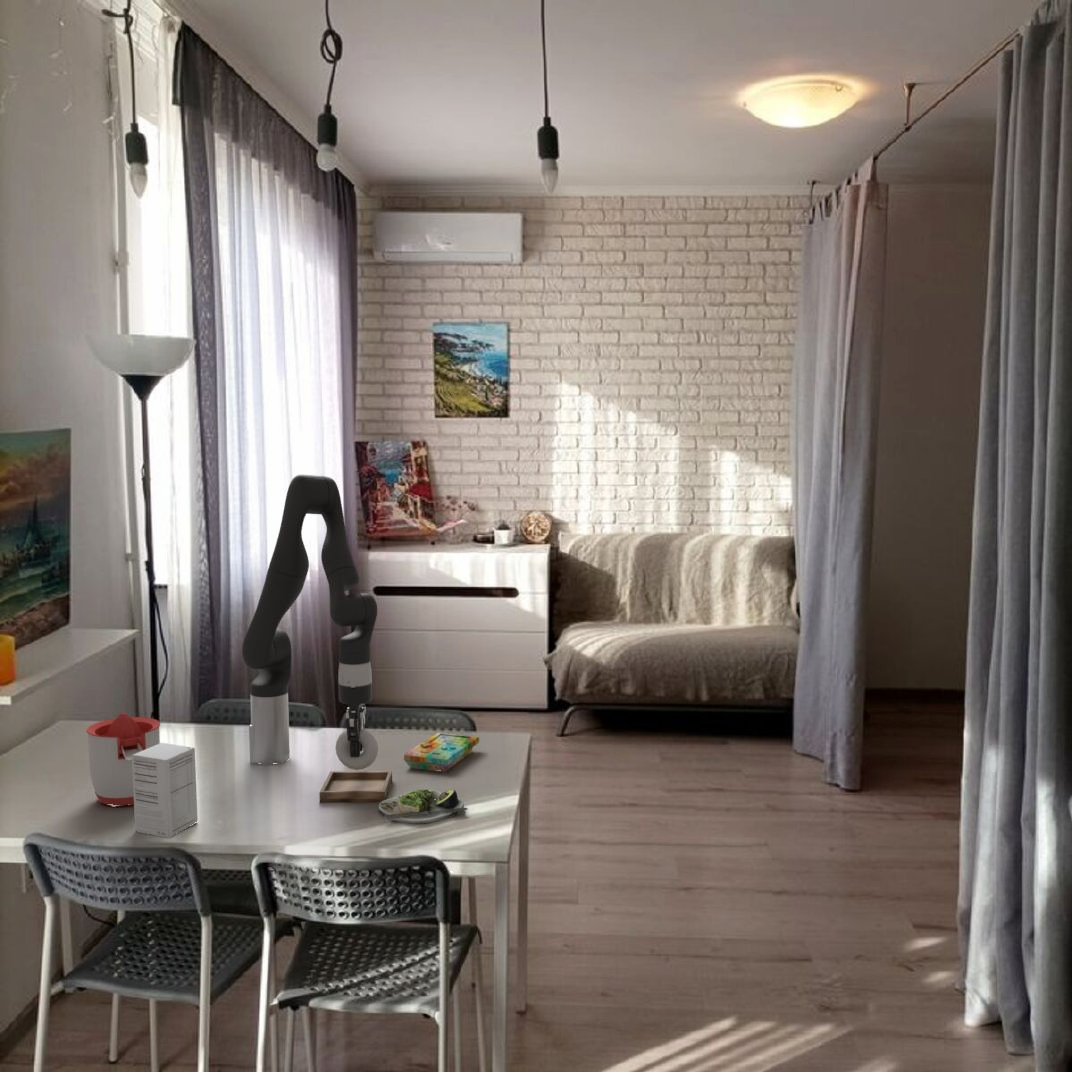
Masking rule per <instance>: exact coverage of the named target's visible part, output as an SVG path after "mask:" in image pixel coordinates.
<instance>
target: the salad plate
mask: <svg viewBox="0 0 1072 1072" xmlns="http://www.w3.org/2000/svg"><path fill="white" fill-rule="evenodd" d="M458 796H459V795H458V793H457V791H456V790H455V789H454V788H450V789H447V790H446V791H443V792H441V791H438V790H434V789H415V790H411V791H409V792H407V793H404V794H401V795H398V796H395V797H394V796H393V797H390V798H386V800H384V801H382V802H381V803H378V810H379V811H380V812H381V813H382V815H383V820H388V821H395V822H399V823H404V824H405V823H408V824H409V823H410V824H428V823H434V822H437V821H441V820H444V819H449V818H451V817H453V815H454V816H457V815H459V814H461V813H462V812H465V811H467V810H469V808H468V807H464V806H465V803H464V802H463V801H462V800H460V799H459V798H458ZM434 799H436V800H434ZM397 807H398V811H399V812H396V811H395V812H394V810H395V808H397Z"/></svg>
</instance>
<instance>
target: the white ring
mask: <svg viewBox="0 0 1072 1072" xmlns="http://www.w3.org/2000/svg"><path fill="white" fill-rule="evenodd" d="M352 736H356V733H352ZM360 738H361V740H360V743H361V744H362V746H363V750H362V753H360V756H359V757H351V756H350V741H348V740H347V729H345V730H343V731H342V732H341V733H340V734H339V736H338V738H337V740H336V742H335V753H336V756H337V758H338V760H339V762H340V763H342V765H343V766H345V767H347V768H348V769H350V770H351V769H352V770H355V771H361V770H364V769H366V768H368V767H370V766H371V765H372V764H374V762H375V760H376V759H377V757H378V753H379V746H378V742H377V739H376V738H375V736H374V734H372V732H370V730H368V729H366V728H363V729H362V731H360Z"/></svg>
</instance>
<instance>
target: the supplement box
mask: <svg viewBox="0 0 1072 1072" xmlns="http://www.w3.org/2000/svg"><path fill="white" fill-rule="evenodd" d="M196 769H197V768H196V750H195V747H194V746H193V747H191V746H186V745H180V744H179V745H178V744H172V743H165V742H160V744H157V745H155V746H153V747H150V748H148V749H145V750H143V751H141V752H138V753H136V754H134V755H132V772H133V793H134V805H133V809H134V811H133V812H134V813H133V814H134V829H135V830H134V831H135V832H136V831H137V832H136V833H140V832H141V833H142V834H145V833H146V835H150V834H152V835H151V836H157V837H161V836H162V837H161V838H166V837H167V838H166V839H169V838H172V837H173V836H176V835H177V834H176V833H178V834H179V833H181V832H182V831H181V830H183V831H185V830H187V829H188V828H187V827H189V826H190V825H192V824H194V823H195V822H197V821H199V820H198V818H199V817H198V800H197V796H198V795H197V793H198V792H197V777H196V776H197V775H196V774H197V772H196V771H197V770H196ZM186 828H187V829H186ZM189 828H190V827H189ZM184 829H185V830H184ZM180 831H181V832H180ZM141 833H140V834H141ZM175 834H176V835H175Z"/></svg>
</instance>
